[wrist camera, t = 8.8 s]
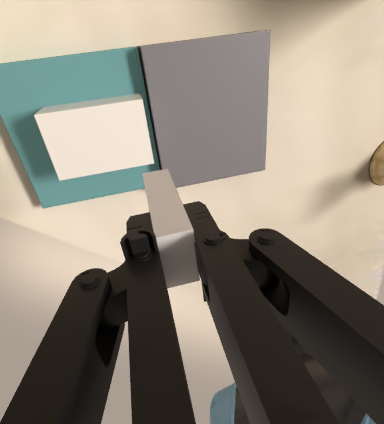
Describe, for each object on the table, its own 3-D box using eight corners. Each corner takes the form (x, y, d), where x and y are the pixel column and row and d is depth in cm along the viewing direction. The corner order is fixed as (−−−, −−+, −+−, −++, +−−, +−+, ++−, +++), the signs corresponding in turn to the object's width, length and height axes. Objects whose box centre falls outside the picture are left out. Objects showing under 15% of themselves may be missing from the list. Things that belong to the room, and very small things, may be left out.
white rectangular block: (150, 152, 30) (154, 163, 27) (65, 167, 29) (59, 180, 26) (139, 93, 27) (142, 99, 24) (43, 107, 26) (33, 115, 23)
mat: (160, 179, 34) (162, 184, 33) (46, 202, 32) (43, 208, 31) (136, 46, 26) (137, 46, 25) (-16, 65, 25) (-22, 66, 23)
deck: (254, 161, 36) (265, 169, 33) (162, 179, 34) (166, 189, 31) (256, 31, 28) (270, 29, 26) (138, 46, 26) (140, 46, 24)
